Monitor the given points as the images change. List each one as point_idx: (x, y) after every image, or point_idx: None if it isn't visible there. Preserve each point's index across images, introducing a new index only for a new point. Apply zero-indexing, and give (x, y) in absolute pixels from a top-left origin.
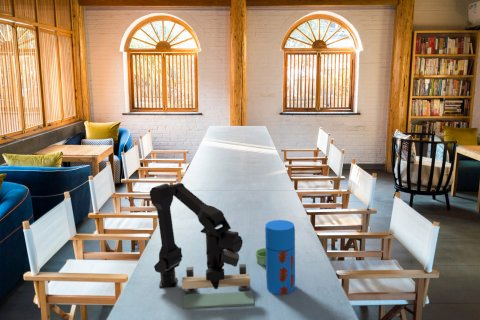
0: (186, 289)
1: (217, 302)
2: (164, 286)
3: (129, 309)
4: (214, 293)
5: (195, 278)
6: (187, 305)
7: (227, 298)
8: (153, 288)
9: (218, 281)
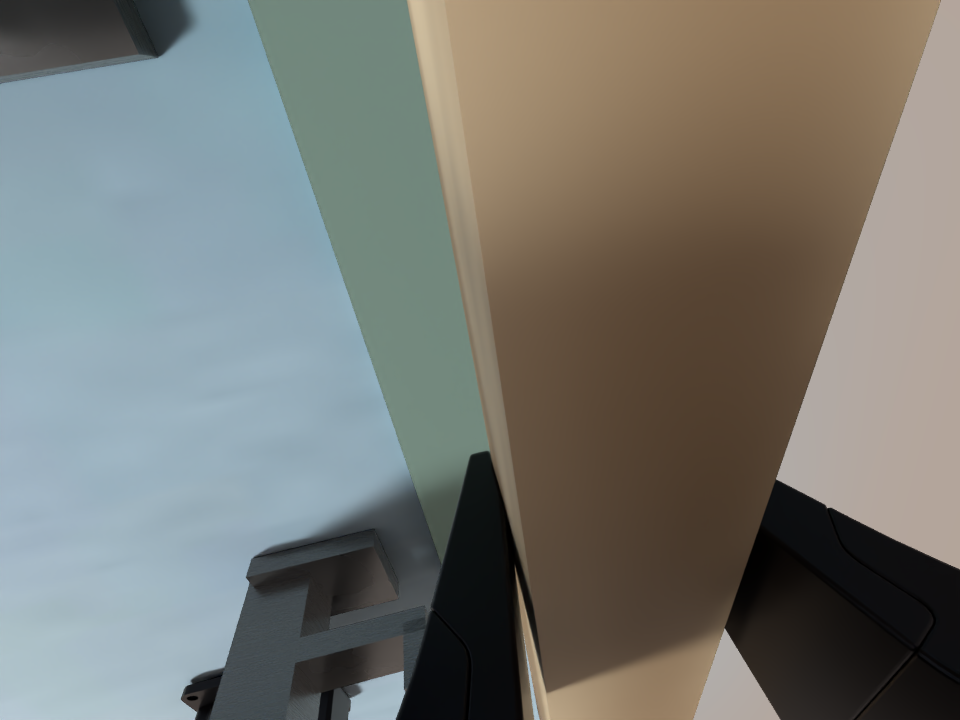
0: (364, 600)
1: None
2: (345, 695)
3: None
4: (386, 389)
5: None
6: None
7: None
8: (366, 711)
9: (842, 524)
